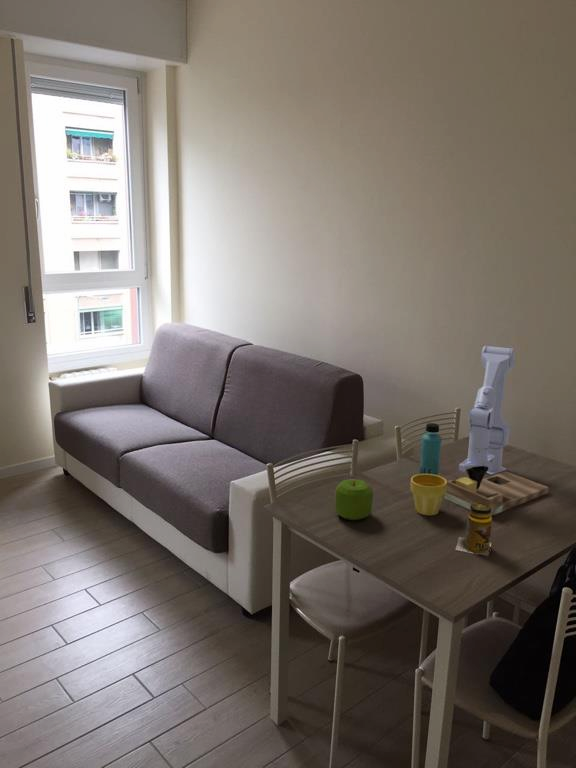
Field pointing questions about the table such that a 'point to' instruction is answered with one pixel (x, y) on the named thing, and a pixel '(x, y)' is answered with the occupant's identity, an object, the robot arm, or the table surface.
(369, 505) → the apple
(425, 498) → the plant pot
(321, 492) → the table surface
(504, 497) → the trap board
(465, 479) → the mustard block
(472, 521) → the condiment
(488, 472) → the robot arm
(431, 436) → the beverage bottle
